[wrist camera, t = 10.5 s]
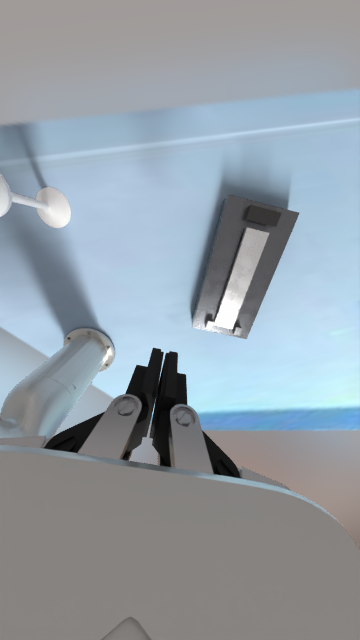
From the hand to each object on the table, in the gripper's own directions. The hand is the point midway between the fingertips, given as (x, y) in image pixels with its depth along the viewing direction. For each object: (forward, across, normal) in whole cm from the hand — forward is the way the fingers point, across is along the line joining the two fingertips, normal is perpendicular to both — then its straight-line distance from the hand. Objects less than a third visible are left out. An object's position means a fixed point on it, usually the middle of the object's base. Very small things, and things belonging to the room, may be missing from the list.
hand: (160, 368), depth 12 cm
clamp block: (+28, -11, -6) cm, 31 cm away
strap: (+24, -11, -4) cm, 27 cm away
